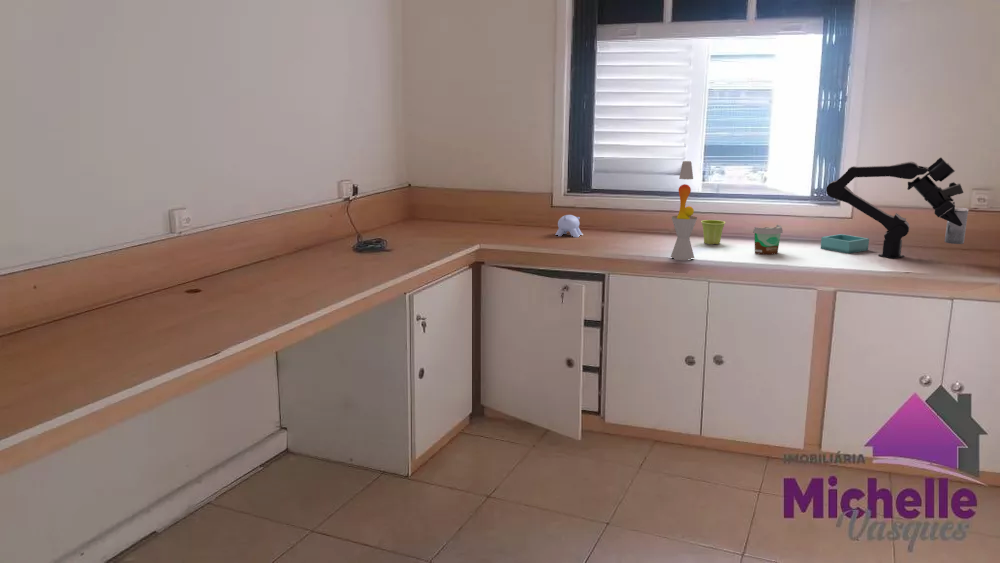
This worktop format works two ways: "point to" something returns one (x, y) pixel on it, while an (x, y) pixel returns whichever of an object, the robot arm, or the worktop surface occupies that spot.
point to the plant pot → (712, 231)
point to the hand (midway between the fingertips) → (961, 224)
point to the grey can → (957, 228)
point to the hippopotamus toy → (569, 226)
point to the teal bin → (844, 243)
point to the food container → (767, 240)
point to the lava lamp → (684, 218)
